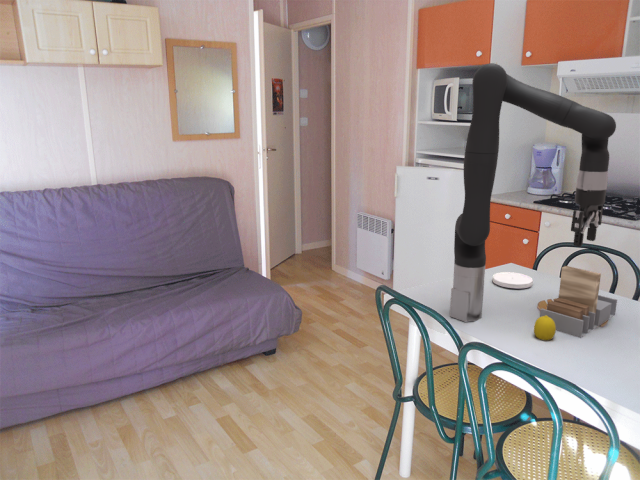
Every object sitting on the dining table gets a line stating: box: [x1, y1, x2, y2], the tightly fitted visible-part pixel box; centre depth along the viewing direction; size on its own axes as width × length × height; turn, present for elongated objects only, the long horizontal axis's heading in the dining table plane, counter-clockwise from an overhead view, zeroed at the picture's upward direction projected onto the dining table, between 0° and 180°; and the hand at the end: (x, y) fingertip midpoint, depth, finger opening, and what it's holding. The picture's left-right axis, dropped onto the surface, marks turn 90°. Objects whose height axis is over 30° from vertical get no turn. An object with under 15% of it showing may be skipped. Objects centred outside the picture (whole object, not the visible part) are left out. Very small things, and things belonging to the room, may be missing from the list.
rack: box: [539, 294, 618, 339], centre depth 154 cm, size 24×12×6 cm, turn 131°
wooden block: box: [558, 265, 602, 323], centre depth 151 cm, size 2×10×16 cm, turn 41°
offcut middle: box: [553, 297, 589, 316], centre depth 150 cm, size 2×9×7 cm, turn 41°
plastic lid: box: [492, 271, 534, 289], centre depth 190 cm, size 14×14×2 cm
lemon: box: [533, 315, 557, 341], centre depth 143 cm, size 6×6×8 cm
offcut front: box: [546, 300, 583, 320], centre depth 148 cm, size 2×9×7 cm, turn 41°
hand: (584, 243), depth 147 cm, fingers open, 8 cm apart
